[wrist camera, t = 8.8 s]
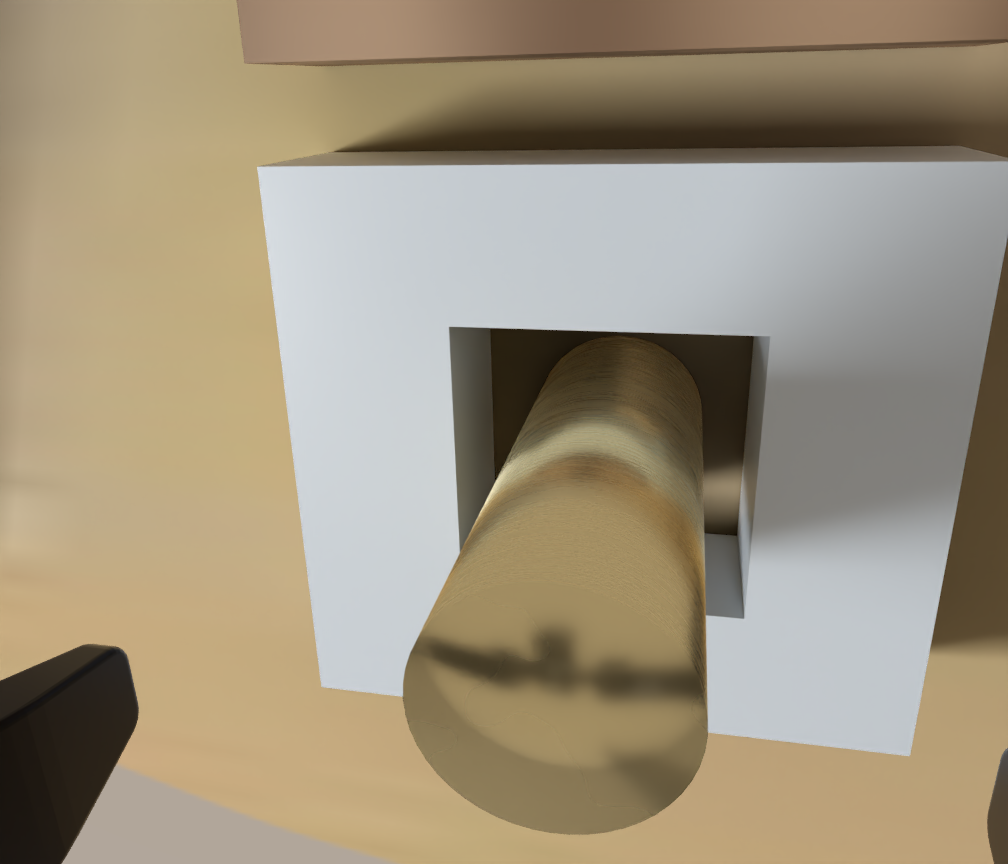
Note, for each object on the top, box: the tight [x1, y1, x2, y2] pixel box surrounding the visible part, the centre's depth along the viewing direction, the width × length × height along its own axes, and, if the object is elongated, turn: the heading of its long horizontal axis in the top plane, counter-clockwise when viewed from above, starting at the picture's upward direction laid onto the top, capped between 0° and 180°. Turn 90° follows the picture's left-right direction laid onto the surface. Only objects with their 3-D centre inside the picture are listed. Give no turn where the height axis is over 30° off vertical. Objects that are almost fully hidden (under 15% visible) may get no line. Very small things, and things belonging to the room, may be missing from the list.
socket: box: [257, 146, 1008, 756], centre depth 16 cm, size 11×10×3 cm
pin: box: [403, 336, 708, 835], centre depth 13 cm, size 3×3×9 cm
